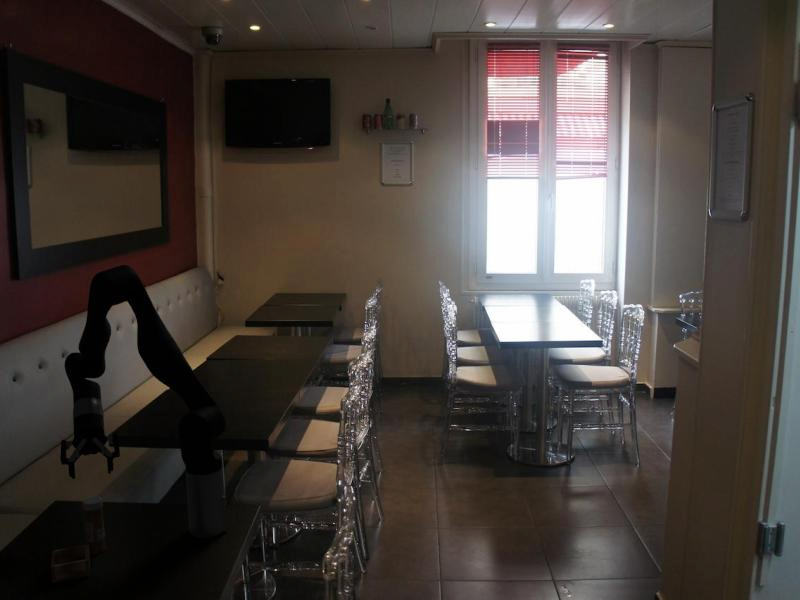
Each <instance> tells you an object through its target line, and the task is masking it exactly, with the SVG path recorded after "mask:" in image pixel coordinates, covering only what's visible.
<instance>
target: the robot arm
mask: <svg viewBox="0 0 800 600" xmlns="http://www.w3.org/2000/svg"><path fill="white" fill-rule="evenodd" d="M89 285H90V286H89V292H88V303H87V309H86V310H87V313H86V319H85V326H84V329H83V330H82V334H81V336H80V339H79V342H78V347H77V348H78V351H79V352H75V351H74V352H71V353H69V354H68V355H67V356H66V358H65V360H64V365H63V366H64V370H65V374H66V377H67V379H68V381H69V382H68V383H69V384H70V387H71V392H72V399H73V400H72V403H73V409H72V424H73V439H72V440H67V439H61V441H60V455H59V456H60V463H61V465H63V466H64V465H66V466H68V476H69V478H72V480H73V479H74V480H75V479H76V469H75V468H76V466H75V463H76V462H77V461H78V460H80V458H81V457H82V455H83V456H89V455H97V454H99V453H100V454H101V456H103V457H105V458H106V462H107V465H106V466H107V474H112V472H113V471H114V459H116V458H120V457H121V451H120V450H121V449H120V444H119V438H118V433H112V434H111V435H106V432H105V431H106V430H105V421H104V420H105V419H104V418H105V416H104V415H105V414H104V408H103V403H102V402H103V401H102V391H101V389H102V388H101V385H100V384H99V383H98V382H96V381H94V380H91V379H99V378H100V377H102V376H103V375H104V374H105V371H106V369H107V368H106V351H107V347H108V345H109V342H110V339H111V335H112V326H111V324H110V322H109V319H108V318H107V315H108V313H109V312H110V310H111V309H112V307H114V306H118V305H120V304H123V303H126V302H127V303H128V305H129V307H130V308H131V310H132V313H133V314H134V316H135V319H136V320H135V321H136V324H137V325H136V327H137V328H136V329H137V332H136V335H137V336H136V338H137V339H136V340H137V341H136V344H137V345H136V346H137V352H138V355H139V356H140V358H141V360H142V361H143V363H144V364H145V366H146V368H147V370H148V371H149V372H150V373H151V375H152V376H153V377H154V378H155V379H156V380H158V381H159V382H160V383H161V384H163V385H165V386H166V387H167V388H169V389H171V390H172V391H173V392H175V394H177V395H178V396H179V397H180V398H181V399H182V400H183V403H184V404H185V405H186V407H187V408H188V410H189V411H188V412H187V413H185V414H184V415H183V416H182V417H181V418H180V421H179V424H178V436H179V439H178V440H179V448H180V454H181V459H182V462H183V464H184V466H185V479H186V480H185V482H186V483H185V484H186V495H187V496H186V498H187V500H186V501H187V510H188V511H187V513H188V517H187V518H188V528H189V529H188V530H189V534H190V536H192V537H194V538H198V539H206V538H207V539H208V538H214V537H217V536H220V535H221V534H222V533H225V532H226V533H227V532H228V520H227V519H228V518H227V502H226V501H227V499H226V496H225V489H224V488H225V487H224V486H225V485H224V472H223V466H224V465H223V457H222V455H221V454H220V453H218V452H215V451H213V441H214V440H216V439H217V438H218V437H220V436H221V435H223V433H224V432H225V431H226V429H227V419H226V416H225V413H224V411H223V410H222V409H221V407H220V406H219V404H218V403H217V402H216V400H215V399H214V398H213V396H212V395H211V394H210V393H209V391H208V390H207V389H206V387H205V386H204V384H203V383H202V382H201V381H200V379H199V378H198V376H197V374H196V372H195V371H194V369H193V368H192V367H191V365H190V363H189V362H188V360H187V359H186V357H185V355H184V353H183V352H182V350H181V348H180V346H179V345H178V343H177V342H176V340H175V339H174V337H173V336H172V335H171V332H170V331H169V330H168V328H167V327H166V325H165V324H164V321H163V320H162V318H161V316H160V315H159V313H158V311H157V309H156V308H155V305H154V303H153V302H152V300H151V298H150V296H149V294H148V291H147V289H146V288H145V285H144V283H143V281H142V279H141V277H140V276H139V275H138V273H137V272H136V270H135V269H134V268H133V267H132V266H129V265H127V264H121V265H117V266H115V267H111V268H108V269H105V270H103V271H102V270H101V271H99V272H98V273H96V274H94V276H93V277H92V279H91V282H90V284H89ZM107 442H109V444H110V445H113V450H114V451H110V450H109V448H108V447H107V446H106V445H107ZM71 446H72V447H73V448H74V450H73V452H72V454H71V455H70V457H67V451H69V450H70V448H71Z"/></svg>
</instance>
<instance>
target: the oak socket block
mask: <svg viewBox="0 0 800 600" xmlns="http://www.w3.org/2000/svg"><path fill="white" fill-rule="evenodd" d="M50 561H51V562H50V573H51V581H52V584H56V583H61V582H67V581H71V580H77V579H81V578H82V577H83V578H86V577H85V576H88V577H91V554H90V552H89V544H87V543H86V544H83V545H82V544H80V545H75V546H72V547H71V546H70V547H64V548H59V549H54V550H52V552H51V560H50Z"/></svg>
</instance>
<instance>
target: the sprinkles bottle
mask: <svg viewBox="0 0 800 600" xmlns="http://www.w3.org/2000/svg"><path fill="white" fill-rule="evenodd" d="M103 507H104V502H103V498H102V497H100V496H95V495H94V496H90V497H86V498H85V499H83V500H82V509H83V515H84V516H83V517H84V521H83V522H84V532H85V539H86V540H85V541H86V545H87V544H89V552H90V555H98V554H102V553H103V552H104V551H105V550H106V549H107V545H106V544H107V543H106V531H105V522H104V511H103Z"/></svg>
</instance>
